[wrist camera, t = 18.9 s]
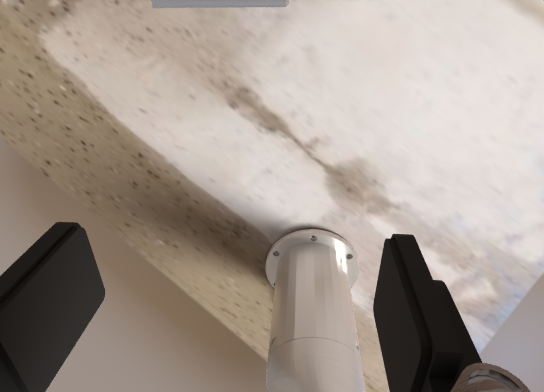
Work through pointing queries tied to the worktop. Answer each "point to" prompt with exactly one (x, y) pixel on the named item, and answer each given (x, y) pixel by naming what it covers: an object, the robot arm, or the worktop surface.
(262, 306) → the worktop surface
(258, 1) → the block
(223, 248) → the worktop surface
